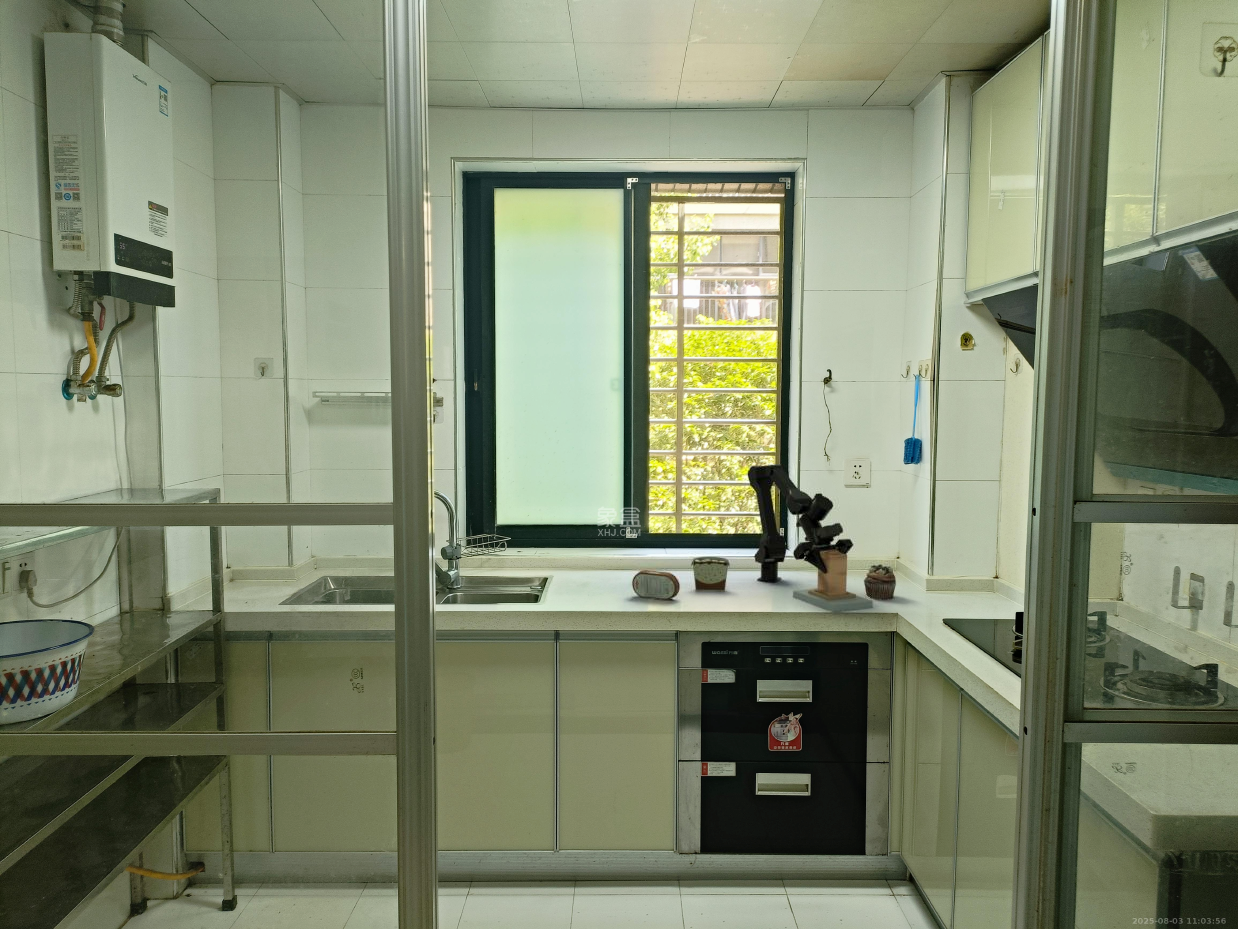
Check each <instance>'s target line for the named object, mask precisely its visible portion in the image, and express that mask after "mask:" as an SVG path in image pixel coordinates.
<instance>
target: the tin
mask: <svg viewBox="0 0 1238 929" xmlns="http://www.w3.org/2000/svg"><path fill="white" fill-rule="evenodd" d="M680 585H681V584H680V581H679V579H678V578H677V576H676V575H674V574H673V573H671V572H666V571H658V570H648V569H643V570H639V572H638V573H636V574H635V575H634V576H633V578H632V581H631V586H632V589H633V591H634V593H635V595H637V596H638V597H641V598H643V599H651V598H654V599H653V600H659V599H662V600H661V601H669V600H672V599H673V598H675V597H677V595H678V594H679V591H680V589H681V586H680Z"/></svg>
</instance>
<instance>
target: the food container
mask: <svg viewBox="0 0 1238 929" xmlns="http://www.w3.org/2000/svg"><path fill="white" fill-rule="evenodd" d="M690 566H691V567H693V578H694V587H695V591H700V592H701V591H705V592H706V591H707V592H709V591H710V592H725V591H726V586H727V585H726V584H727V576H728V568H730V567H731V565H730V562H729V559H728V558H725V557H720V556H719V557H718V556H699V557H694V558H692V561H691V564H690Z"/></svg>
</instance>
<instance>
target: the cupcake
mask: <svg viewBox="0 0 1238 929" xmlns="http://www.w3.org/2000/svg"><path fill="white" fill-rule="evenodd" d="M896 580H897V579H896V576H895V574H894V568H893V567H891V565H890V566H889V565H888V566H886V565H885V566H883V564H880V563H879V564H878V565H875V564H874V565H870V567H869V568H868V572H867V573H866V577H865V578H864V580H863V585H864V588H865V589H864V591H865V593H866V595H867V596H868V597H870V598H869V599H872V598H874V599H873V600H879V599H881V600H883V601H887V600H888V599H889V600H892V599H893V598H894V593H895V589H896V585H897V581H896ZM867 596H866V597H867ZM868 597H867V598H868Z"/></svg>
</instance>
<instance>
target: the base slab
mask: <svg viewBox="0 0 1238 929" xmlns="http://www.w3.org/2000/svg"><path fill="white" fill-rule="evenodd" d="M817 589H818V587H816V588H807V589H797V590H793V591H792V598H794V597H795V598H794V599H797V598H798V599H797V600H799V599H801V600H800V601H802V600H804V601H803V602H805V603H808V604H810V603H811V605H814V606H816V607H818V606H819V608H821V607H822V608H821V609H823V610H827V611H829V610H830V611H829V612H832V613H837V612H843V611H844V612H846V611H854V610H853V609H855V610H861V609H862V610H863V609H870V608H871V609H872V608H873V607H874V605H873V604H874V600H871V599H870V598H867V597H862V596H860V595H857V594H856V593H853V592H849V591H847V590H846V594H844V595H834V596H828V595H825V594H823V593H820V592H817ZM845 610H846V611H845Z"/></svg>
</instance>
